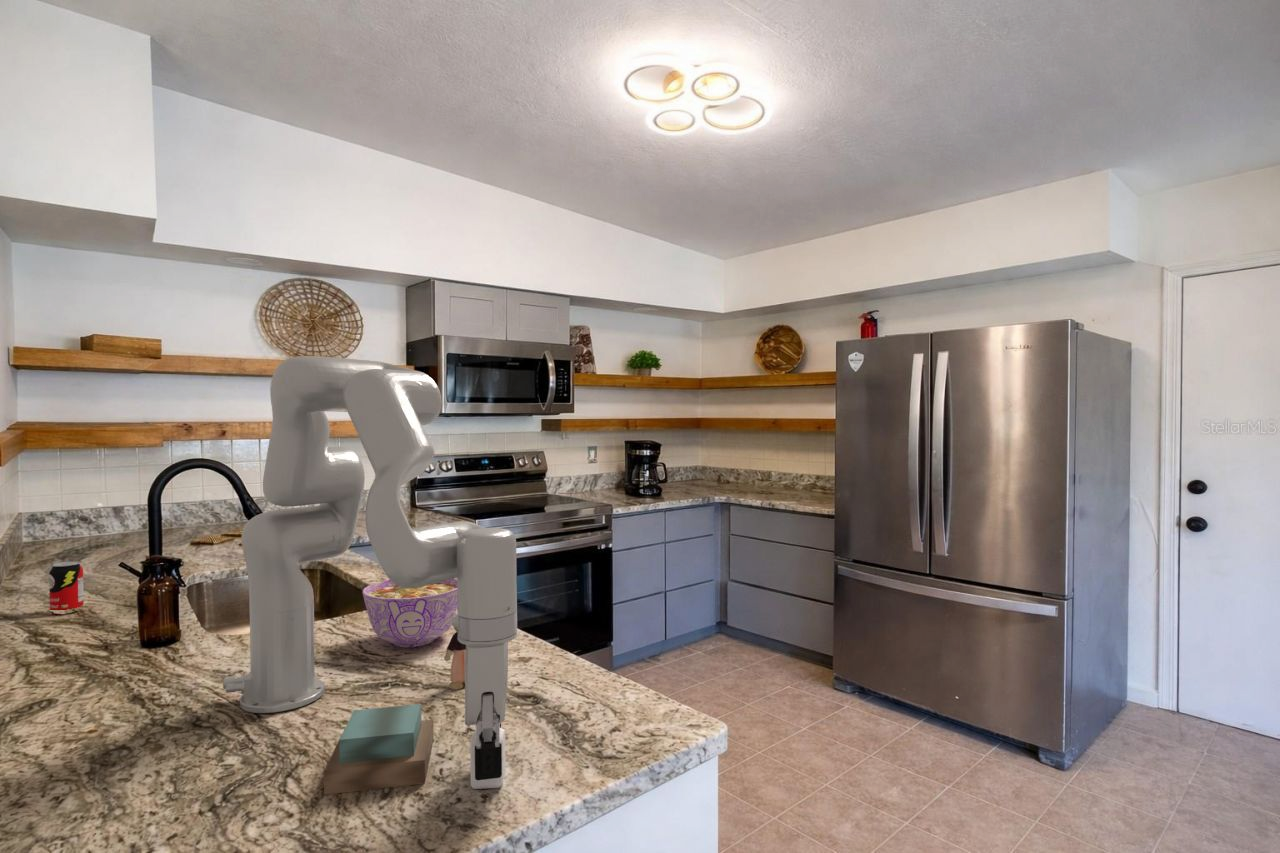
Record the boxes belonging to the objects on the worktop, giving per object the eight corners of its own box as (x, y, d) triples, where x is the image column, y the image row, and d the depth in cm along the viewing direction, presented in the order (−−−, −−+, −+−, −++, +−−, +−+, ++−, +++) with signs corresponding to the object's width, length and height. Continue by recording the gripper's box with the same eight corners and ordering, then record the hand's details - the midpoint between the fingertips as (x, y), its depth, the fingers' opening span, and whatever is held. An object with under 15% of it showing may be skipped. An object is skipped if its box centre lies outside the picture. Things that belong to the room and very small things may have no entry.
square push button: (324, 794, 84) (323, 746, 84) (345, 748, 96) (344, 706, 96) (425, 783, 87) (424, 736, 87) (433, 739, 98) (433, 698, 98)
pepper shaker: (502, 789, 85) (501, 714, 85) (469, 791, 85) (469, 715, 85) (505, 773, 89) (505, 701, 89) (475, 774, 89) (474, 702, 89)
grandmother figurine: (461, 692, 115) (461, 618, 115) (441, 691, 116) (440, 617, 116) (481, 676, 123) (480, 606, 123) (461, 674, 124) (461, 605, 124)
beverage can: (59, 609, 168) (58, 561, 168) (89, 607, 170) (88, 560, 170) (43, 616, 162) (43, 566, 162) (74, 615, 164) (73, 565, 163)
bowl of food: (407, 664, 129) (406, 604, 129) (342, 646, 139) (341, 590, 139) (482, 635, 146) (482, 582, 146) (419, 621, 156) (419, 571, 156)
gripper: (460, 609, 95) (462, 732, 95) (453, 650, 78) (454, 800, 78) (515, 605, 96) (516, 726, 97) (519, 645, 79) (520, 792, 80)
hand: (488, 759), depth 87 cm, fingers open, 8 cm apart
